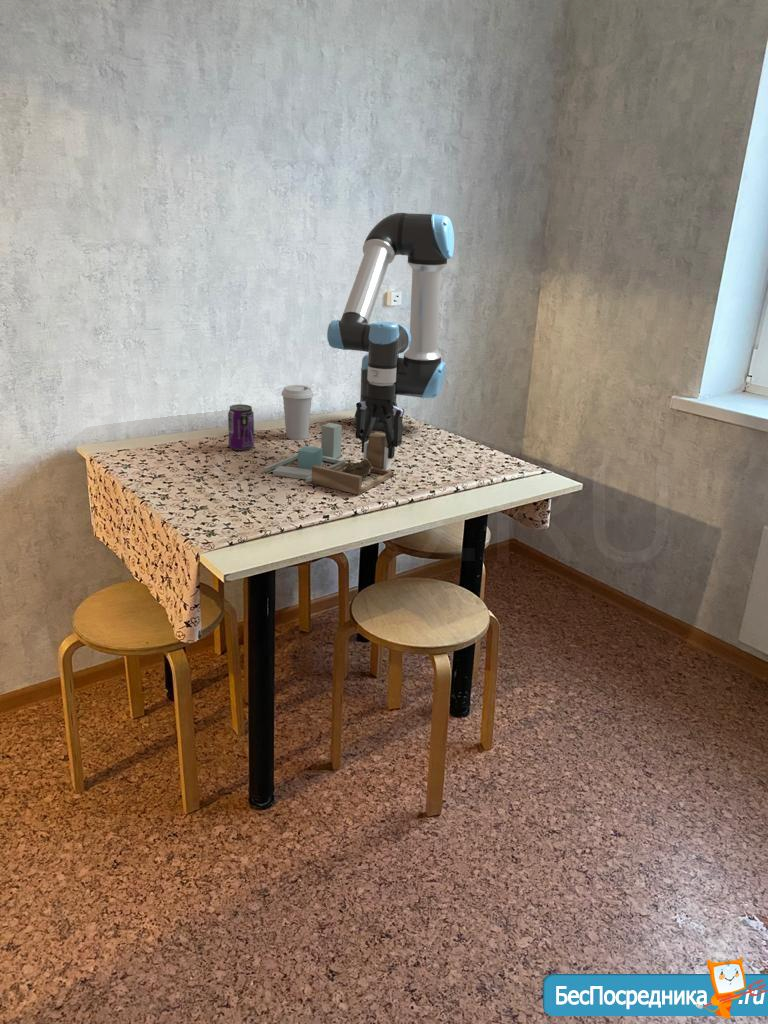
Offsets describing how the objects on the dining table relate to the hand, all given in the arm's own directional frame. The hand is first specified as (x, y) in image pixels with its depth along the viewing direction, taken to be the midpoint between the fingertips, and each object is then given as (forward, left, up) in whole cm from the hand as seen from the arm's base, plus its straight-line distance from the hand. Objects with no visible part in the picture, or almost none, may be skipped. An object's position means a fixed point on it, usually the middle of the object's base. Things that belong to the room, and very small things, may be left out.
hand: (376, 466), depth 210 cm
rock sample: (+12, -2, -1) cm, 12 cm away
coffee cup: (-11, -34, 0) cm, 36 cm away
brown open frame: (+9, 0, 0) cm, 9 cm away
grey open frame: (+9, -15, 0) cm, 18 cm away
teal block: (+10, -15, 0) cm, 18 cm away
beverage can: (+8, -40, -1) cm, 41 cm away
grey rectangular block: (+18, -15, 0) cm, 23 cm away
